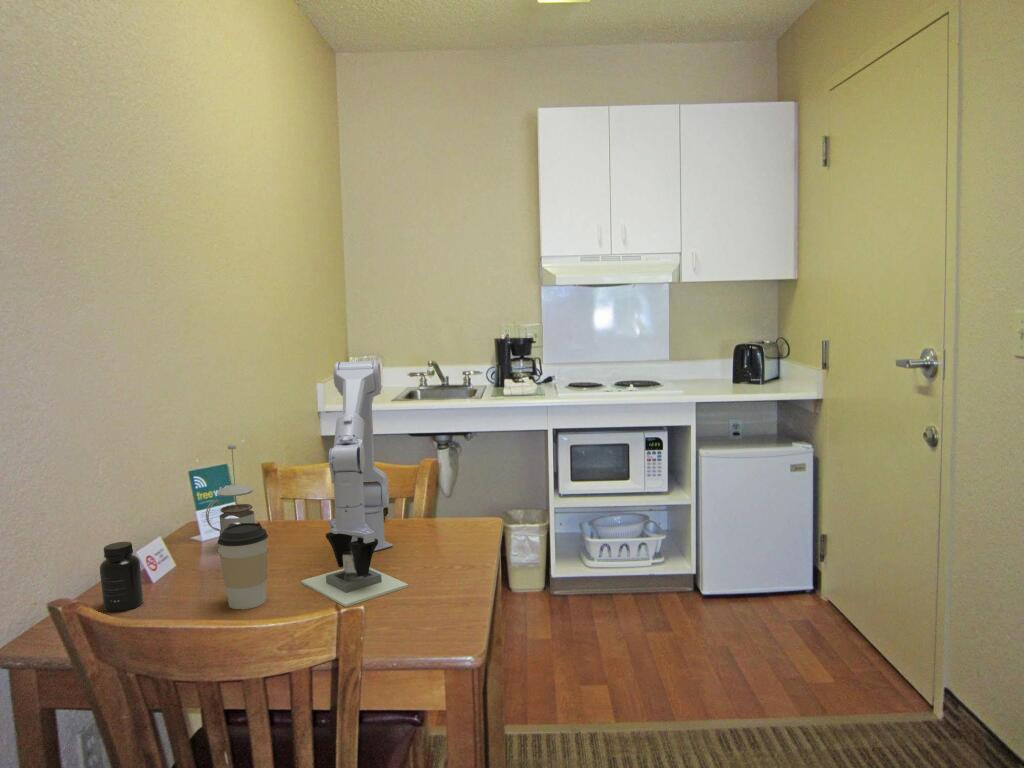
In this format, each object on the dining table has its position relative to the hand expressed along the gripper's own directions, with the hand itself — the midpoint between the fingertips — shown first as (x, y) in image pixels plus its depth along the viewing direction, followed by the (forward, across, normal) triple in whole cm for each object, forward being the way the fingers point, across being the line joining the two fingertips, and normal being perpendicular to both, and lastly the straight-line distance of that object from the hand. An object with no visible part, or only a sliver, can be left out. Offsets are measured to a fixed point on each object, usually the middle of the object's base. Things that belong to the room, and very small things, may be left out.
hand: (353, 570), depth 150 cm
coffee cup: (+3, -7, -19) cm, 20 cm away
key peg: (+2, 0, 0) cm, 3 cm away
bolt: (+3, -35, +25) cm, 44 cm away
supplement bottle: (+3, -23, -37) cm, 43 cm away
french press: (+3, -42, -7) cm, 43 cm away
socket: (+3, 0, 0) cm, 3 cm away
